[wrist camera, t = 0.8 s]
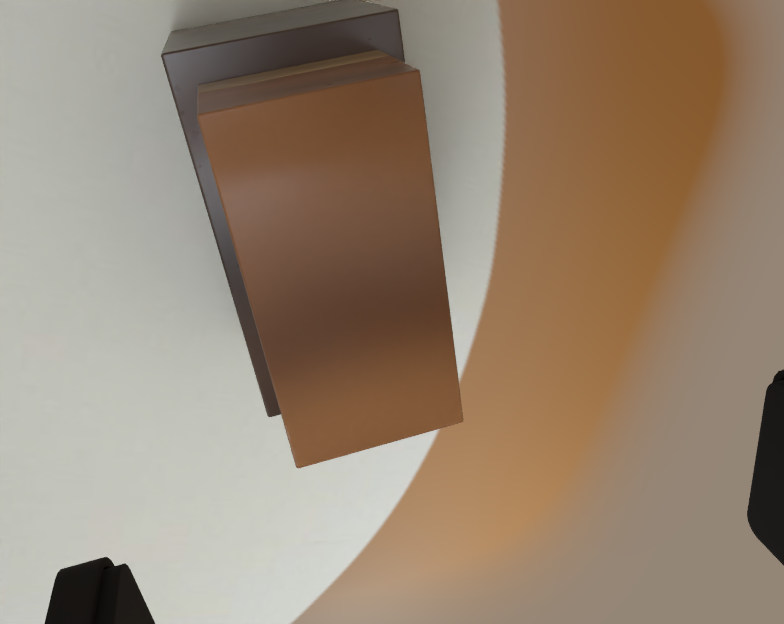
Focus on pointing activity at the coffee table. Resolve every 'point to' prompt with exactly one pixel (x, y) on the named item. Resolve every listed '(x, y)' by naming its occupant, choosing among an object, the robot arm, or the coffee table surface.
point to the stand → (255, 55)
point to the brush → (338, 247)
